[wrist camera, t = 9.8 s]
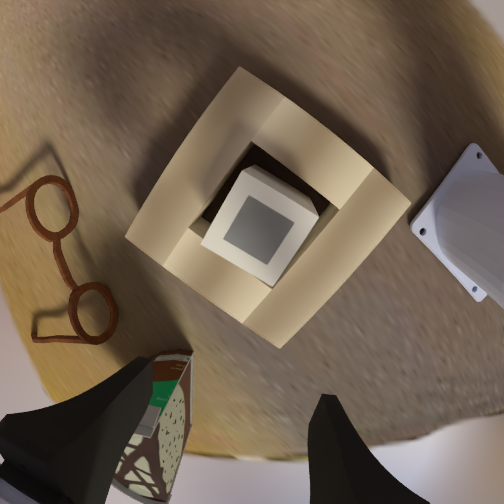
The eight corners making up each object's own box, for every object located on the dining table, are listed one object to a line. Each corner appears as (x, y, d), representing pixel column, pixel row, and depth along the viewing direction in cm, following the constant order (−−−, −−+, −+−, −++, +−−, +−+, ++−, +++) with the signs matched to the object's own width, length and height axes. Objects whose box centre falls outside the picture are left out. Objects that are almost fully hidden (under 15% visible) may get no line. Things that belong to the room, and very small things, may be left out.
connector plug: (309, 197, 20) (319, 217, 14) (276, 248, 21) (272, 286, 15) (255, 164, 20) (241, 170, 14) (223, 217, 21) (200, 244, 15)
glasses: (127, 321, 25) (99, 355, 20) (35, 335, 27) (8, 360, 22) (70, 169, 21) (28, 178, 16) (-12, 218, 24) (-47, 232, 19)
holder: (394, 195, 19) (411, 203, 16) (281, 325, 23) (279, 348, 20) (246, 77, 18) (239, 66, 15) (144, 225, 21) (124, 236, 19)
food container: (122, 320, 24) (57, 398, 15) (194, 336, 24) (149, 431, 14) (135, 417, 28) (98, 490, 19) (192, 433, 28) (165, 513, 18)
